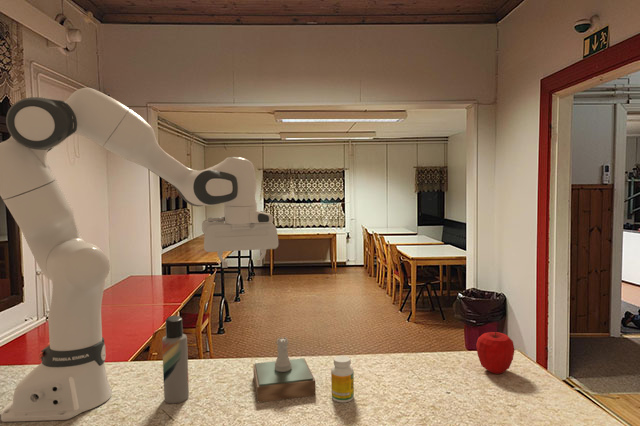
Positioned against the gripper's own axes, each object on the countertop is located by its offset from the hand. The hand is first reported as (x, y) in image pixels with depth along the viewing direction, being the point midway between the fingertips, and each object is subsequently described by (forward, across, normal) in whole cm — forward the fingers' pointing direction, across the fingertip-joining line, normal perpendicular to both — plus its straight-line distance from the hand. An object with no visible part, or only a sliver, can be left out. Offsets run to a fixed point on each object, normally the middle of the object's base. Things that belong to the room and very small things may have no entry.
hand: (242, 266), depth 120 cm
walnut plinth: (+29, +9, -13) cm, 33 cm away
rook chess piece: (+25, +9, -12) cm, 30 cm away
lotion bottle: (+29, -17, -13) cm, 36 cm away
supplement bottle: (+29, +22, -23) cm, 43 cm away
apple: (+29, +66, -19) cm, 75 cm away
